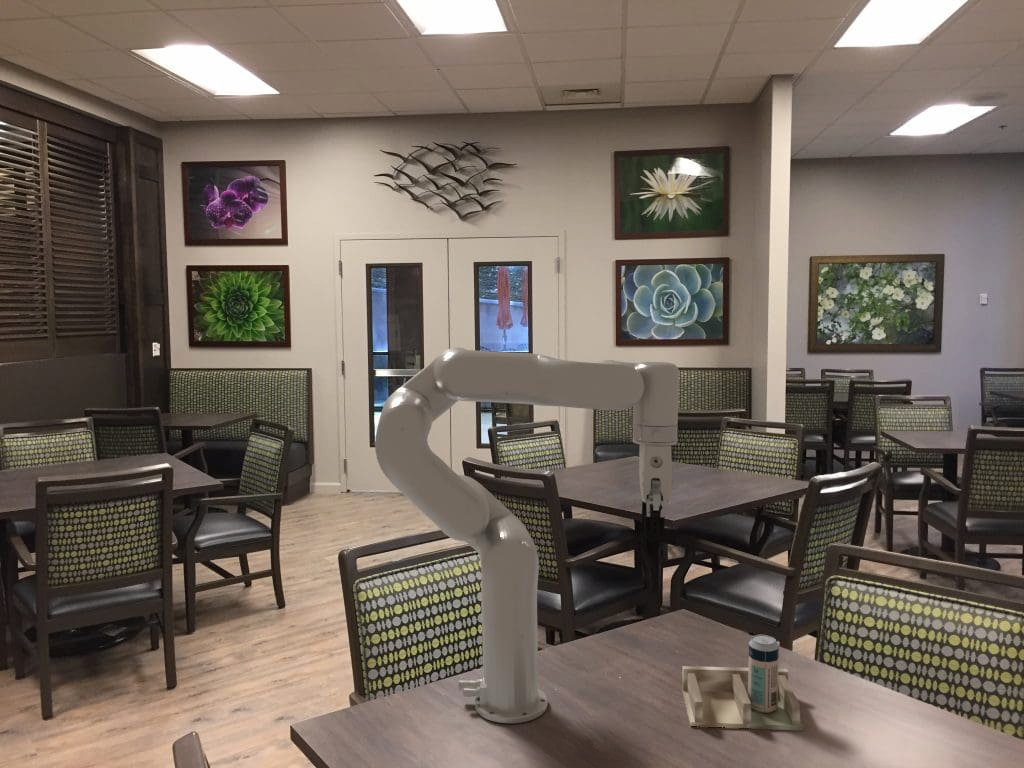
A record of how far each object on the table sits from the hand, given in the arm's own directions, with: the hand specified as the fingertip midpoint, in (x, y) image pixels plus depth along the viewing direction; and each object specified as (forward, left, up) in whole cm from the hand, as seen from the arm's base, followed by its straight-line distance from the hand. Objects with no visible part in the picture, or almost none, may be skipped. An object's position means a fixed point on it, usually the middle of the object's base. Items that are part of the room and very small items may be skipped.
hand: (652, 531), depth 140 cm
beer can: (+18, -5, -29) cm, 34 cm away
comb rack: (+14, -5, -30) cm, 33 cm away
